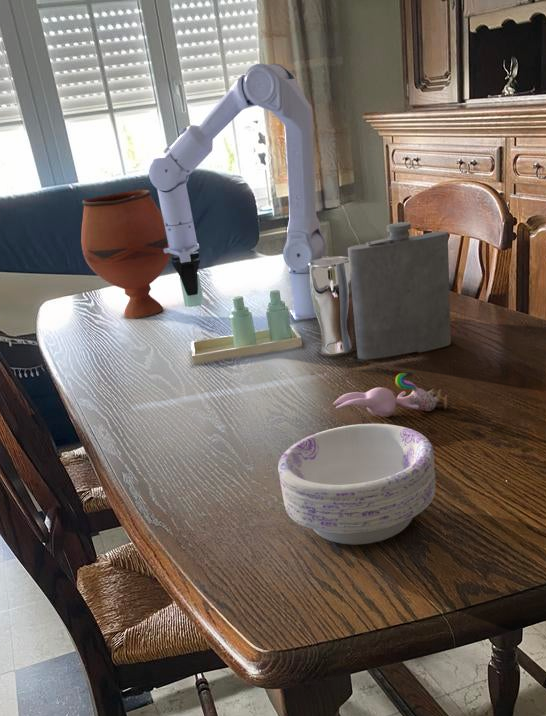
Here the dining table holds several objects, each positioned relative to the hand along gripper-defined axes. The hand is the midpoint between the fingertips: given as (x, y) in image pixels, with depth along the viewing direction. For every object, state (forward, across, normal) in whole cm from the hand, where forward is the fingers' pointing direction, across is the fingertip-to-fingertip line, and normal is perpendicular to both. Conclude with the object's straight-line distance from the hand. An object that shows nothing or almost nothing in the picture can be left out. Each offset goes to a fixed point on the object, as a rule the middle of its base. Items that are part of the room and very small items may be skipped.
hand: (192, 292), depth 154 cm
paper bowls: (+6, +94, +14) cm, 95 cm away
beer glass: (+6, +37, +23) cm, 44 cm away
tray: (+6, +27, +8) cm, 29 cm away
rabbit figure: (+6, +68, +24) cm, 72 cm away
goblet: (+6, -15, -12) cm, 20 cm away
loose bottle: (+2, 0, 0) cm, 2 cm away
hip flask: (+6, +43, +33) cm, 54 cm away
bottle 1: (+6, +27, +8) cm, 29 cm away
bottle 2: (+6, +27, +14) cm, 31 cm away
